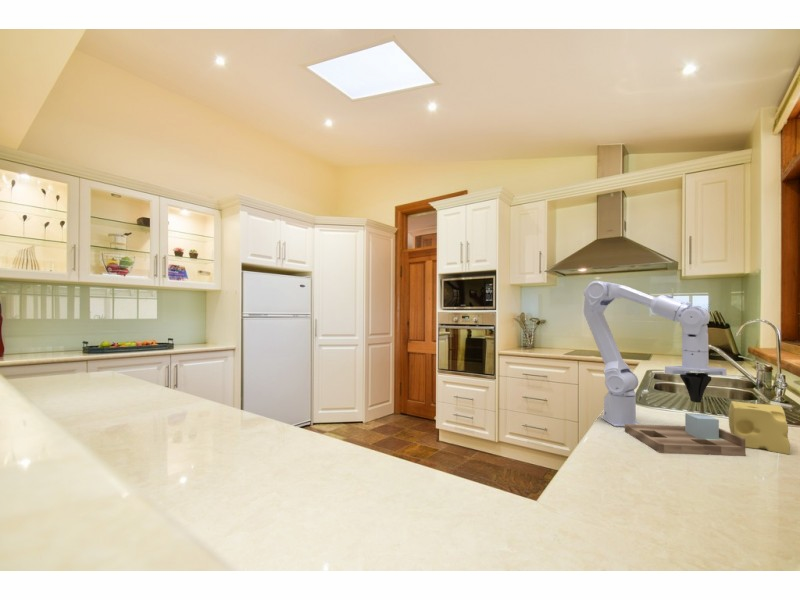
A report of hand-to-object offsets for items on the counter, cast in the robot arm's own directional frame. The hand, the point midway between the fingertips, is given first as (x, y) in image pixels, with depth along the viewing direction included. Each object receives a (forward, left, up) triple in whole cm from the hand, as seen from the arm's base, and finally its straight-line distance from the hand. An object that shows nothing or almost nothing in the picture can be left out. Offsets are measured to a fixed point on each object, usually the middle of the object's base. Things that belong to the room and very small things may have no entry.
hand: (695, 401), depth 105 cm
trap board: (+4, -7, -10) cm, 13 cm away
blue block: (+4, -1, -8) cm, 9 cm away
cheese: (+3, +13, -10) cm, 17 cm away
